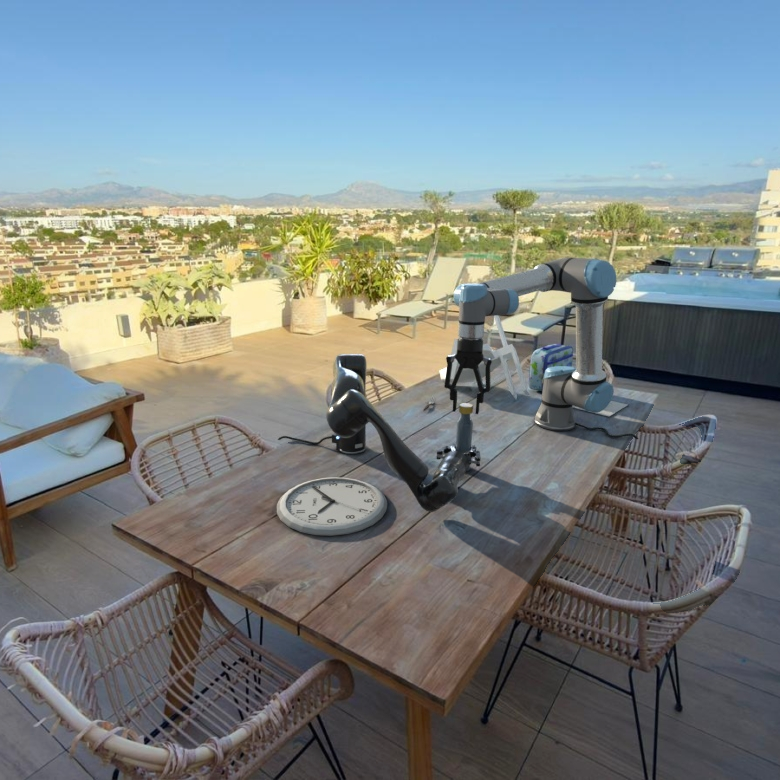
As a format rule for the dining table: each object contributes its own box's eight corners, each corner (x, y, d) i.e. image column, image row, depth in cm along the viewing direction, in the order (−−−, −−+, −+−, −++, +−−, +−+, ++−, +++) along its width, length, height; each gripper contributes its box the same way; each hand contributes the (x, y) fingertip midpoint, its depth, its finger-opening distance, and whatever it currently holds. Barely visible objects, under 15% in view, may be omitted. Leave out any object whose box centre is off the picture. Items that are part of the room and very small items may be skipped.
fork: (420, 411, 216) (420, 406, 216) (430, 400, 230) (431, 395, 230) (426, 412, 215) (426, 407, 215) (436, 401, 230) (436, 396, 229)
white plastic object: (461, 429, 252) (437, 405, 227) (444, 352, 274) (420, 323, 250) (535, 404, 240) (518, 377, 215) (510, 326, 262) (492, 293, 237)
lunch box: (545, 396, 239) (550, 351, 232) (524, 391, 246) (528, 347, 240) (572, 385, 256) (577, 343, 250) (552, 380, 263) (557, 339, 257)
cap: (472, 414, 158) (472, 407, 158) (458, 413, 159) (459, 406, 158) (472, 410, 162) (473, 403, 162) (459, 409, 163) (459, 402, 162)
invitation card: (608, 416, 214) (573, 407, 224) (608, 416, 214) (573, 408, 224) (628, 404, 229) (594, 396, 238) (628, 405, 229) (594, 397, 238)
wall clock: (392, 527, 129) (268, 531, 127) (391, 533, 130) (269, 537, 127) (383, 473, 158) (282, 475, 155) (383, 478, 158) (282, 480, 156)
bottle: (471, 470, 164) (476, 409, 158) (457, 472, 164) (461, 410, 157) (466, 464, 169) (470, 404, 163) (452, 465, 168) (456, 405, 162)
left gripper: (477, 460, 148) (488, 438, 163) (429, 452, 153) (443, 432, 168) (475, 484, 150) (486, 460, 166) (428, 475, 155) (442, 453, 170)
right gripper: (504, 337, 155) (498, 410, 162) (440, 332, 160) (437, 404, 166) (502, 342, 148) (496, 418, 155) (435, 337, 153) (432, 411, 160)
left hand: (465, 446), depth 167 cm, fingers closed on bottle, 4 cm apart
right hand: (465, 411), depth 161 cm, fingers open, 6 cm apart
